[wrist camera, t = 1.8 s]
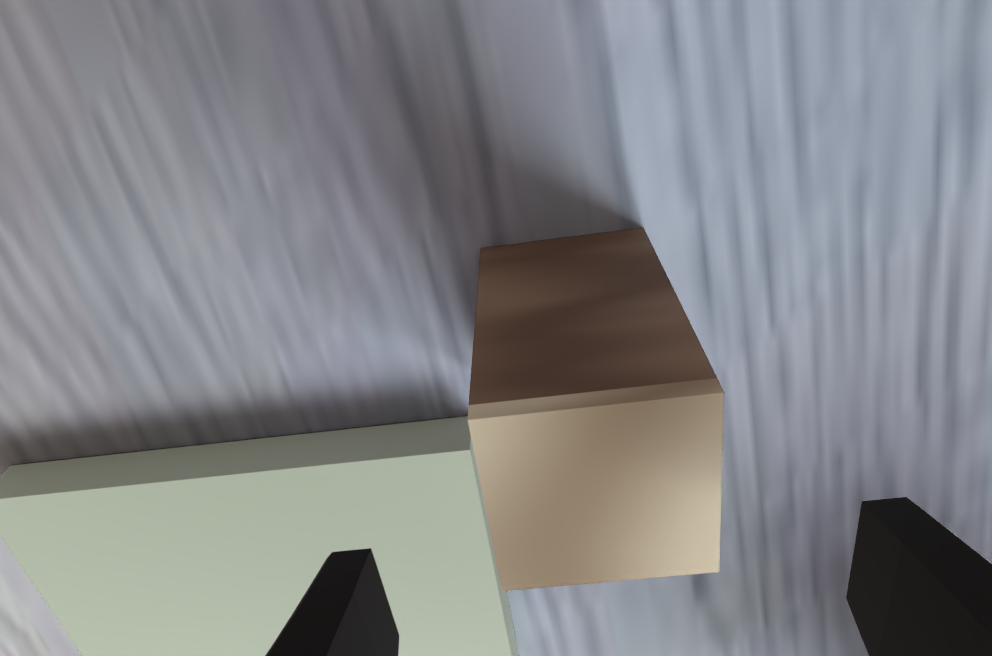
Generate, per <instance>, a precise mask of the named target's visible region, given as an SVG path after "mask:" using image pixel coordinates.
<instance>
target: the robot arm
mask: <svg viewBox="0 0 992 656" xmlns="http://www.w3.org/2000/svg"><path fill="white" fill-rule="evenodd" d="M846 598H847V601H848V603H849V606H850V609H851V611H852V614H853V616H854V619H855V621H856V624H857V627H858V629H859V632H860V634H861V637H862V639H863V642H864V644H865V646H866V649H867V651H868V654H869V656H992V564H991V563H989V562H988V561H987V560H985V559H984V558H983V557H982V556H980V555H979V554H978V553H977V552H975V551H974V550H973V549H971V548H970V547H969V546H968V545H966V544H965V543H964V542H963V541H961V540H960V539H959V538H958V537H956V536H955V535H954V534H953V533H951V532H950V531H949V530H947V529H946V528H945V527H944V526H942V525H941V524H940V523H939V522H937V521H936V520H935V519H934V518H932V517H931V516H930V515H929V514H927V513H926V512H925V511H923V510H922V509H921V508H920V507H918V506H917V505H916V504H914V503H913V502H912V501H911V500H909V499H908V498H907V497H903V498H893V499H882V500H872V501H862V505H861V511H860V517H859V523H858V529H857V536H856V542H855V548H854V554H853V560H852V566H851V572H850V578H849V584H848V591H847V597H846ZM398 651H399V633H398V630H397V627H396V624H395V621H394V617H393V614H392V611H391V608H390V605H389V602H388V599H387V596H386V593H385V590H384V586H383V583H382V580H381V577H380V574H379V571H378V568H377V565H376V562H375V559H374V556H373V552H372V549H371V548H369V549H358V550H348V551H337V552H332V553H331V554H330V555H329V556H328V557H327V559H326V560H325V562H324V563H323V565H322V567H321V568H320V570H319V572H318V573H317V575H316V577H315V578H314V580H313V581H312V583H311V585H310V586H309V588H308V590H307V591H306V593H305V594H304V596H303V598H302V599H301V601H300V603H299V604H298V606H297V607H296V609H295V611H294V612H293V614H292V615H291V617H290V618H289V620H288V622H287V623H286V625H285V626H284V628H283V629H282V631H281V633H280V634H279V636H278V637H277V639H276V640H275V642H274V643H273V645H272V646H271V648H270V649H269V651H268V652H267V654H266V655H265V656H398Z"/></svg>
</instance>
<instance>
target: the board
mask: <svg viewBox="0 0 992 656" xmlns="http://www.w3.org/2000/svg"><path fill="white" fill-rule="evenodd" d="M0 537H1V538H2V540H3V541H4V543H5V544H6V546H7V547H8V549H9V550H10V551H11V553H12V554H13V556H14V557H15V559H16V560H17V562H18V563H19V565H20V566H21V568H22V569H23V570H24V572H25V573H26V575H27V576H28V578H29V579H30V581H31V582H32V584H33V585H34V587H35V588H36V589H37V591H38V592H39V594H40V595H41V597H42V598H43V600H44V601H45V603H46V604H47V605H48V607H49V608H50V610H51V611H52V613H53V614H54V616H55V617H56V619H57V620H58V622H59V623H60V624H61V626H62V627H63V629H64V630H65V632H66V633H67V635H68V636H69V638H70V639H71V641H72V642H73V643H74V645H75V646H76V648H77V649H78V651H79V652H80V654H81V655H82V656H265V655H266V654H267V652H268V651H269V649H270V648H271V646H272V645H273V643H274V642H275V640H276V639H277V637H278V636H279V634H280V633H281V631H282V629H283V628H284V626H285V625H286V623H287V622H288V620H289V618H290V617H291V615H292V614H293V612H294V611H295V609H296V607H297V606H298V604H299V603H300V601H301V599H302V598H303V596H304V594H305V593H306V591H307V590H308V588H309V586H310V585H311V583H312V581H313V580H314V578H315V577H316V575H317V573H318V572H319V570H320V568H321V567H322V565H323V563H324V562H325V560H326V559H327V557H328V556H329V555H330V554H331V553H332V552H337V551H348V550H358V549H369V548H371V549H372V552H373V556H374V559H375V562H376V565H377V568H378V571H379V574H380V577H381V580H382V583H383V586H384V590H385V593H386V596H387V599H388V602H389V605H390V608H391V611H392V614H393V617H394V621H395V624H396V627H397V630H398V633H399V651H398V656H519V654H518V649H517V643H516V638H515V633H514V628H513V623H512V618H511V613H510V607H509V602H508V597H507V592H506V591H502V590H501V585H500V580H499V575H498V570H497V565H496V560H495V555H494V550H493V545H492V540H491V535H490V530H489V525H488V520H487V515H486V510H485V505H484V500H483V495H482V490H481V485H480V480H479V475H478V470H477V465H476V460H475V455H474V450H473V445H472V440H471V435H470V430H469V425H468V416H464V417H455V418H446V419H437V420H427V421H418V422H409V423H400V424H390V425H381V426H372V427H363V428H353V429H344V430H335V431H326V432H317V433H307V434H298V435H289V436H280V437H270V438H261V439H252V440H243V441H233V442H224V443H215V444H206V445H196V446H187V447H178V448H169V449H159V450H150V451H141V452H132V453H122V454H113V455H104V456H95V457H85V458H76V459H67V460H58V461H48V462H39V463H30V464H21V465H11V466H9V467H8V468H7V469H6V470H5V471H4V472H3V474H2V475H1V476H0Z"/></svg>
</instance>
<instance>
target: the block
mask: <svg viewBox="0 0 992 656" xmlns="http://www.w3.org/2000/svg"><path fill="white" fill-rule="evenodd" d="M723 415H724V391H723V389H722V387H721V385H720V383H719V381H718V379H717V377H716V375H715V373H714V371H713V369H712V367H711V365H710V363H709V361H708V359H707V357H706V354H705V352H704V350H703V348H702V346H701V344H700V342H699V340H698V338H697V336H696V334H695V332H694V330H693V328H692V326H691V324H690V322H689V320H688V318H687V316H686V314H685V312H684V310H683V308H682V305H681V303H680V301H679V299H678V297H677V295H676V293H675V291H674V289H673V287H672V285H671V283H670V281H669V279H668V277H667V275H666V273H665V271H664V269H663V267H662V265H661V263H660V261H659V259H658V256H657V254H656V252H655V250H654V248H653V246H652V244H651V242H650V240H649V238H648V236H647V234H646V232H645V230H644V228H636V229H628V230H620V231H612V232H604V233H596V234H588V235H581V236H573V237H565V238H557V239H549V240H541V241H533V242H526V243H518V244H510V245H502V246H494V247H486V248H481V250H480V263H479V276H478V290H477V303H476V316H475V329H474V342H473V355H472V368H471V381H470V394H469V408H468V425H469V430H470V435H471V440H472V445H473V450H474V455H475V460H476V465H477V470H478V475H479V480H480V485H481V490H482V495H483V500H484V505H485V510H486V515H487V520H488V525H489V530H490V535H491V540H492V545H493V550H494V555H495V560H496V565H497V570H498V575H499V580H500V585H501V590H502V591H508V590H520V589H531V588H543V587H554V586H565V585H577V584H588V583H600V582H611V581H622V580H634V579H645V578H657V577H668V576H680V575H691V574H702V573H714V572H719V561H720V524H721V488H722V452H723Z"/></svg>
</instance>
